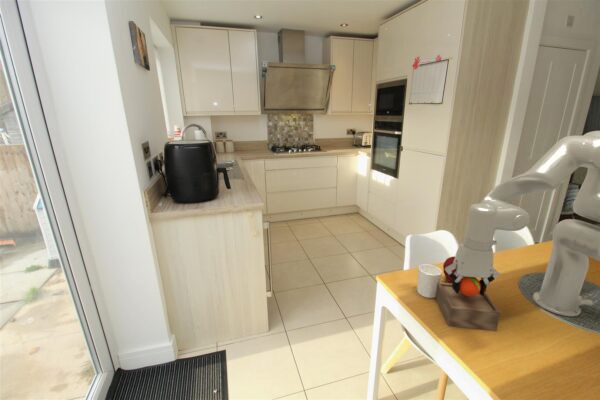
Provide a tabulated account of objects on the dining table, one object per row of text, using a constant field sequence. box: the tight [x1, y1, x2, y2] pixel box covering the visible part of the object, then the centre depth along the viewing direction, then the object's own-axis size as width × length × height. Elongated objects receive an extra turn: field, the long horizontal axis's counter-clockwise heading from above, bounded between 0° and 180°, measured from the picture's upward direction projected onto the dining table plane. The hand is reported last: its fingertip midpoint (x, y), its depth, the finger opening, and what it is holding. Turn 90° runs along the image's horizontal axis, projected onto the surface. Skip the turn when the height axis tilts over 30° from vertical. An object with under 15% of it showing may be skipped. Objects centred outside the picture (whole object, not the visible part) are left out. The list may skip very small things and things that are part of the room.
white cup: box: [416, 263, 443, 299], centre depth 104 cm, size 8×8×10 cm
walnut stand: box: [434, 282, 501, 332], centre depth 93 cm, size 14×14×7 cm
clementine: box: [459, 276, 481, 296], centre depth 91 cm, size 8×7×7 cm
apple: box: [442, 256, 457, 284], centre depth 109 cm, size 11×11×12 cm
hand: (467, 291), depth 92 cm, fingers closed on clementine, 7 cm apart
